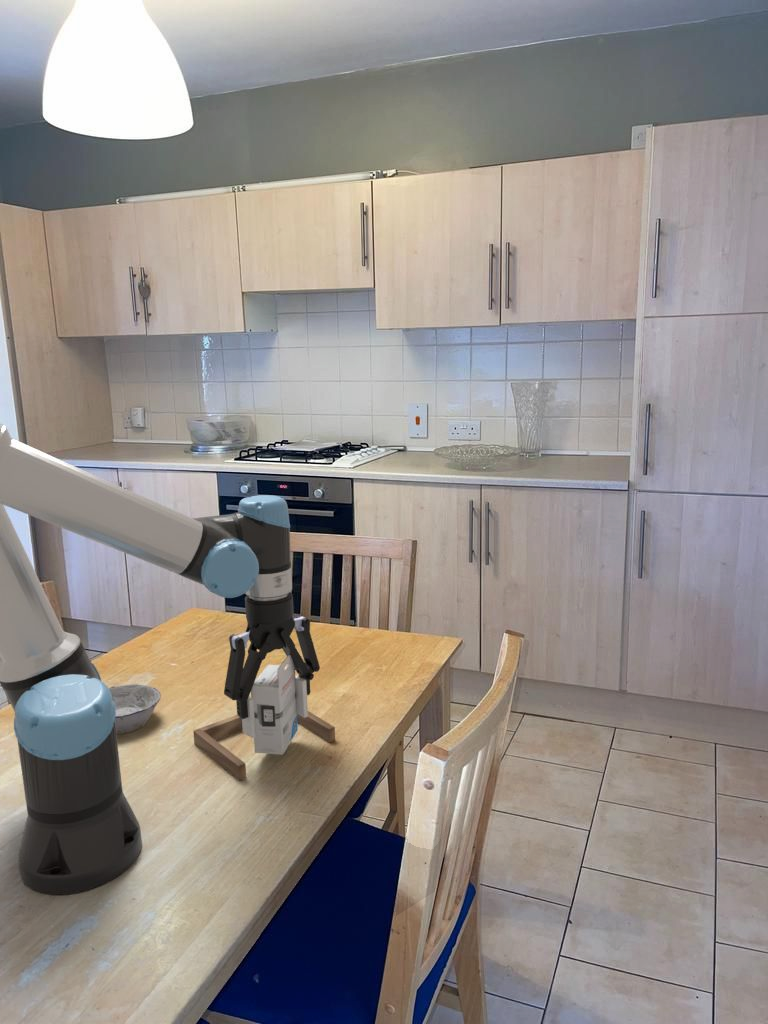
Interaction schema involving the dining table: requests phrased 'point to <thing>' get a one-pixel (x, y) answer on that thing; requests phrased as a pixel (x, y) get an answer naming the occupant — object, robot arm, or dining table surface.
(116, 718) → the bowl
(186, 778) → the dining table surface
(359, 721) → the dining table surface
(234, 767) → the wooden u-shaped frame
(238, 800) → the dining table surface
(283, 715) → the ink box
